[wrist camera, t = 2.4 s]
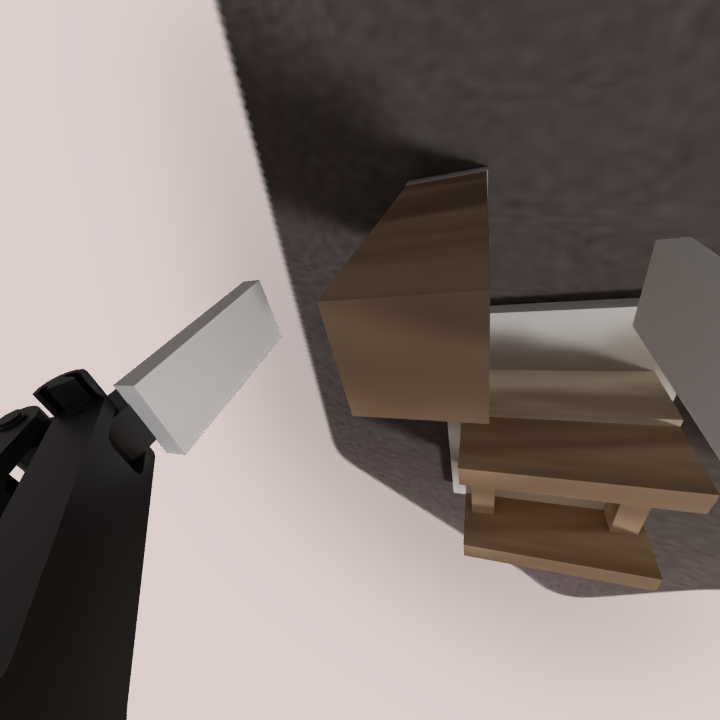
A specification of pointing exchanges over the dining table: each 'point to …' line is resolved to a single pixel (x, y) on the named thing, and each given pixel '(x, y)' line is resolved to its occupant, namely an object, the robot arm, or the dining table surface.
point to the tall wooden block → (418, 306)
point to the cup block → (574, 445)
